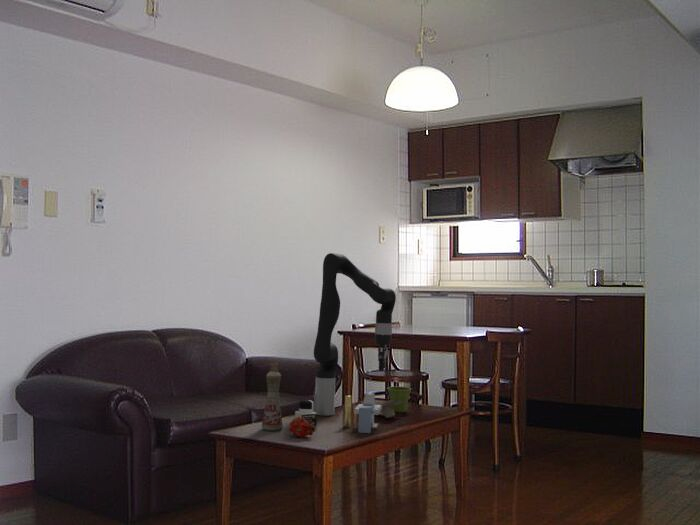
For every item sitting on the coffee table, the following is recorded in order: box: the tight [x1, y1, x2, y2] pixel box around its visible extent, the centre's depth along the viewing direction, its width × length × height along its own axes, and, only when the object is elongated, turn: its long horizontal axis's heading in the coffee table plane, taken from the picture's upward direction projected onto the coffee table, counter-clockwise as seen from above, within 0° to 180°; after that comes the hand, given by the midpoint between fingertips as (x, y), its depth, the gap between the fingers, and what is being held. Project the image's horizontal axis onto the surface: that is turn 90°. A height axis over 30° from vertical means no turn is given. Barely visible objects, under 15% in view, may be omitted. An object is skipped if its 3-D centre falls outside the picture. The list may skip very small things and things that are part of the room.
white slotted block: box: [380, 400, 403, 419], centre depth 372 cm, size 16×9×15 cm
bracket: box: [358, 403, 374, 434], centre depth 340 cm, size 5×12×10 cm, turn 172°
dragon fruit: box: [287, 417, 316, 439], centre depth 321 cm, size 8×8×12 cm
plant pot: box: [386, 386, 412, 414], centre depth 392 cm, size 12×12×11 cm
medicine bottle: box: [294, 399, 318, 431], centre depth 339 cm, size 7×7×12 cm
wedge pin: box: [344, 395, 352, 428], centre depth 348 cm, size 3×3×13 cm
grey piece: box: [353, 392, 382, 429], centre depth 345 cm, size 10×14×14 cm
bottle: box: [261, 361, 284, 432], centre depth 336 cm, size 9×9×28 cm
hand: (381, 369), depth 359 cm, fingers open, 8 cm apart
